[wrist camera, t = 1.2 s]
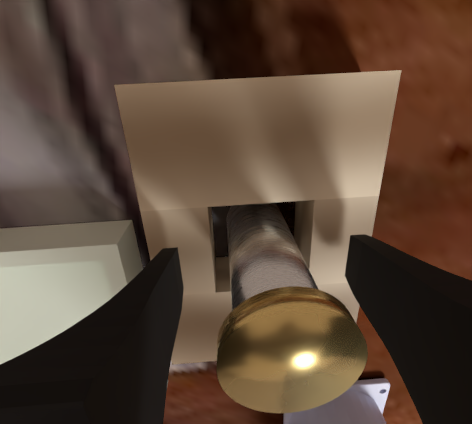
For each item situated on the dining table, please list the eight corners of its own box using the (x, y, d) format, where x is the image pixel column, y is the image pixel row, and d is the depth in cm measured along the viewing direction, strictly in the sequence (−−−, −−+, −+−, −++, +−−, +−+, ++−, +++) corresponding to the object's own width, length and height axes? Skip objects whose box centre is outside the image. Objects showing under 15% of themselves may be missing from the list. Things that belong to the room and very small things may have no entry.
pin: (288, 248, 16) (356, 406, 8) (219, 253, 16) (221, 419, 8) (291, 182, 15) (378, 302, 7) (214, 187, 15) (210, 315, 7)
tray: (168, 380, 20) (161, 417, 18) (-17, 396, 20) (-47, 436, 18) (132, 219, 15) (117, 244, 13) (-122, 236, 15) (-185, 264, 12)
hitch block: (331, 310, 19) (351, 349, 16) (179, 322, 18) (172, 364, 15) (361, 72, 13) (401, 70, 10) (137, 84, 12) (113, 84, 10)
